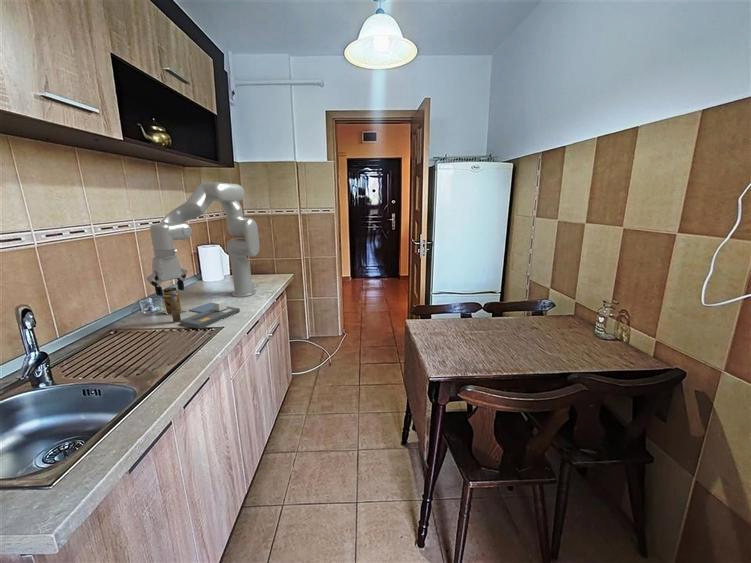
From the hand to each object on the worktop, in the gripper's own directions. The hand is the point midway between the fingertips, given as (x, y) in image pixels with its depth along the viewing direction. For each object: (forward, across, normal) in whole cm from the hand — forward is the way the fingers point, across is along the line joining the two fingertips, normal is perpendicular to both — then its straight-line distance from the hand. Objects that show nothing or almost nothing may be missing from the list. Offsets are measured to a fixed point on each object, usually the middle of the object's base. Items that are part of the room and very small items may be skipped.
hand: (170, 292), depth 146 cm
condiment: (+14, -9, -14) cm, 22 cm away
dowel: (+14, -1, 0) cm, 14 cm away
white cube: (+11, -16, +10) cm, 22 cm away
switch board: (+14, -10, +11) cm, 20 cm away
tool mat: (+13, -19, -3) cm, 23 cm away
